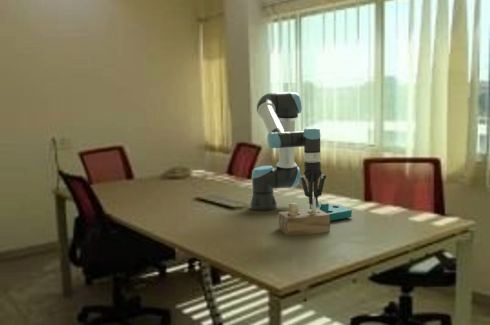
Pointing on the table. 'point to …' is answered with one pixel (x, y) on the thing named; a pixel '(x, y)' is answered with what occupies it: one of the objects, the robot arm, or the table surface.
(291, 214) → the near peg
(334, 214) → the teal l-shaped bracket
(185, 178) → the table surface
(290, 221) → the socket block
